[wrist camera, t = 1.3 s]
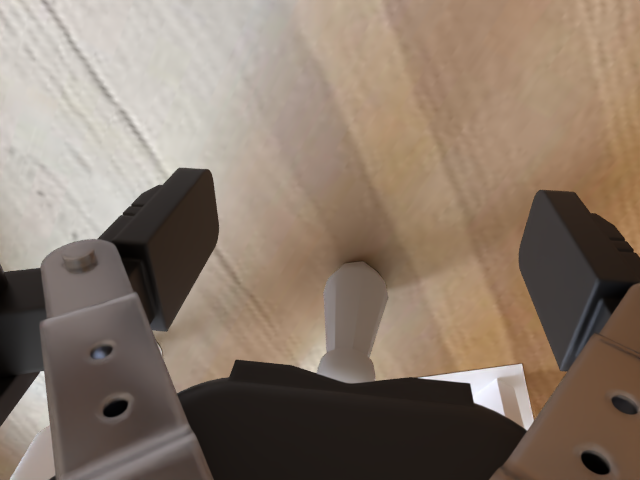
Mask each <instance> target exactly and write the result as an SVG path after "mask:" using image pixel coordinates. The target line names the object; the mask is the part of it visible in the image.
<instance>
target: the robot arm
mask: <svg viewBox="0 0 640 480" xmlns="http://www.w3.org/2000/svg"><path fill="white" fill-rule="evenodd" d="M131 205H132V206H129V207H128V208H127V209H126V210H125V211H124V212H123V215H121V216H120V217H119V218H118V219H117V220H116V221H115V222H114V223H113V224H112V225H111V226H110V227H109V228H108V229H107V230H106V231H105V232H104V233H103V234H102V235H101V236H100V237H99V238H98V239H90V240H81V241H77V242H73V243H69V244H67V245H64V246H62V247H60V248H58V249H56V250H54V251H53V252H51V253H50V254H49V255H47V256H46V257H45V259H44V260H43V261H42V263H41V268H36V269H27V270H18V271H10V272H4V271H3V269H2V267H1V265H0V426H1V425H2V424H3V422H4V421H5V420H6V418H7V417H8V415H9V414H10V413H11V411H12V410H13V409H14V407H15V406H16V404H17V403H18V402H19V400H20V399H21V398H22V396H23V395H24V393H25V392H26V391H27V389H28V388H29V387H30V385H31V384H32V382H33V381H34V380H35V378H36V377H37V376H38V374H39V373H40V371H44V373H45V383H46V392H47V401H48V411H49V420H50V429H51V438H52V448H53V457H54V466H55V476H53V477H52V478H50V479H49V480H640V257H639V256H638V255H637V254H636V253H633V248H632V247H631V246H630V245H629V243H628V242H626V241H625V238H624V237H623V236H622V235H621V233H620V232H619V231H618V230H617V228H616V227H615V226H614V225H613V224H611V223H610V222H608V221H606V220H605V219H603V218H602V217H600V216H599V215H597V214H595V213H590V212H589V210H588V209H587V208H586V206H585V205H584V204H583V202H582V201H581V200H580V198H579V197H578V196H577V194H576V193H575V192H568V191H551V190H539V191H538V192H537V193H536V195H535V197H534V200H533V203H532V206H531V210H530V213H529V217H528V220H527V223H526V227H525V230H524V234H523V237H522V241H521V244H520V249H519V268H520V271H521V274H522V276H523V279H524V281H525V284H526V286H527V289H528V291H529V294H530V296H531V299H532V301H533V304H534V306H535V309H536V311H537V314H538V316H539V319H540V321H541V324H542V326H543V329H544V331H545V334H546V336H547V339H548V341H549V344H550V346H551V349H552V351H553V354H554V356H555V359H556V361H557V364H558V366H559V369H560V371H567V373H566V374H565V376H564V377H563V379H562V380H561V382H560V383H559V385H558V386H557V388H556V389H555V391H554V392H553V394H552V395H551V397H550V398H549V400H548V401H547V402H546V404H545V405H544V407H543V408H542V410H541V411H540V413H539V414H538V416H537V417H536V419H535V420H534V422H533V423H532V425H531V426H530V427H529V429H528V430H526V429H524V428H523V427H522V426H520V425H518V424H517V423H515V422H514V421H512V420H511V419H509V418H507V417H505V416H503V415H502V414H500V413H498V412H496V411H494V410H491V409H489V408H487V407H484V406H482V405H479V404H476V403H474V401H473V396H472V390H471V385H470V383H462V382H452V381H442V380H432V379H422V378H412V377H409V378H399V379H390V380H381V381H372V382H362V383H345V382H341V381H338V380H335V379H332V378H329V377H326V376H323V375H320V374H317V373H313V372H310V371H307V370H304V369H301V368H298V367H295V366H292V365H283V364H274V363H264V362H254V361H244V360H235V363H234V366H233V369H232V371H231V374H230V377H228V378H220V379H216V380H211V381H207V382H204V383H201V384H198V385H195V386H192V387H190V388H188V389H185V390H183V391H181V392H179V393H176V390H175V388H174V385H173V383H172V380H171V377H170V375H169V372H168V370H167V367H166V365H165V362H164V360H163V357H162V355H161V352H160V349H159V347H158V344H157V342H156V339H155V337H154V334H153V332H152V330H156V331H166V332H167V331H168V329H169V327H170V325H171V324H172V322H173V320H174V318H175V317H176V315H177V313H178V311H179V310H180V308H181V306H182V304H183V303H184V301H185V299H186V297H187V295H188V294H189V292H190V290H191V288H192V287H193V285H194V283H195V281H196V280H197V278H198V276H199V274H200V273H201V271H202V269H203V267H204V266H205V264H206V262H207V260H208V258H209V257H210V255H211V253H212V251H213V250H214V248H215V246H216V243H217V240H218V234H219V221H218V214H217V206H216V198H215V190H214V183H213V177H212V174H211V172H210V170H208V169H193V168H178V169H177V170H176V171H175V172H174V173H173V174H172V176H171V177H170V178H169V179H168V180H167V181H166V182H165V183H164V184H163V185H158V186H156V187H154V188H152V189H150V190H148V191H146V192H144V193H142V194H141V195H140V196H139V197H138V198H137V199H136V200H135V201H134V202H133V203H132V204H131Z"/></svg>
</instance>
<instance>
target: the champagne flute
mask: <svg viewBox="0 0 640 480" xmlns="http://www.w3.org/2000/svg"><path fill="white" fill-rule="evenodd" d="M157 344H158V343H157ZM158 347H159V349H160V352H161V355H162V351H161V348H160V346H159V345H158ZM53 476H55V466H54V457H53V448H52V438H51V429H50V425H49V426H47V427H46V428H44V429H42V430H41V431H40V432H39V433H38V434H37V435H36V436H35V438H34V440H33V441H32V443H31V445H30V446H29V448H28V450H27V451H26V453H25V455H24V456H23V458H22V460H21V462H20V463H19V465H18V467H17V468H16V470H15V472H14V473H13V475H12V477H11V478H10V480H49V479H50V478H52V477H53Z"/></svg>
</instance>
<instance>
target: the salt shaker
mask: <svg viewBox="0 0 640 480" xmlns="http://www.w3.org/2000/svg"><path fill="white" fill-rule="evenodd" d="M387 300H388V293H387V287H386V283H385V281H384V280H383V279H382V277H381V276H380V274H379V273H378V272H377V271H376V270H374V269H373V268H372V267H370V266H369V265H368V264H366V263H365V262H364V261H362V262H353V263H344V264H343V265H342V266H341V267H340V268H339V269H338V270H337V271H336V272H334V273H333V274H332V275H331V276H330V277H329V278H328V280H327V283H326V286H325V289H324V310H325V330H326V349H327V353H326V354H325V355H324V356H323V357H322V358H321V361H320V364H319V366H318V370H317V374H320V375H323V376H326V377H329V378H332V379H335V380H338V381H341V382H345V383H362V382H372V381H375V370H374V365H373V362H372V361H371V359H370V358H369V357H370V354H371V351H372V347H373V344H374V341H375V337H376V334H377V331H378V327H379V324H380V321H381V318H382V315H383V312H384V309H385V306H386V303H387Z"/></svg>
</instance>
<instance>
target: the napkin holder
mask: <svg viewBox="0 0 640 480" xmlns="http://www.w3.org/2000/svg"><path fill="white" fill-rule="evenodd" d="M421 378H422V379H432V380H442V381H452V382H462V383H470V385H471V390H472V396H473V401H474V403H476V404H479V405H482V406H484V407H487V408H489V409H491V410H494V411H496V412H498V413H500V414H502V415H503V416H505V417H507V418H509V419H511V420H512V421H514V422H515V423H517V424H518V425H520V426H522V427H523V428H524V429H526V430H528V429H529V427H530V426H531V425H532V423H533V422H534V419H533V414H532V410H531V405H530V400H529V395H528V391H527V386H526V381H525V376H524V372H523V367H522V364H516V365H509V366H502V367H495V368H487V369H480V370H473V371H465V372H458V373H451V374H443V375H436V376H429V377H421Z"/></svg>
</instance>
